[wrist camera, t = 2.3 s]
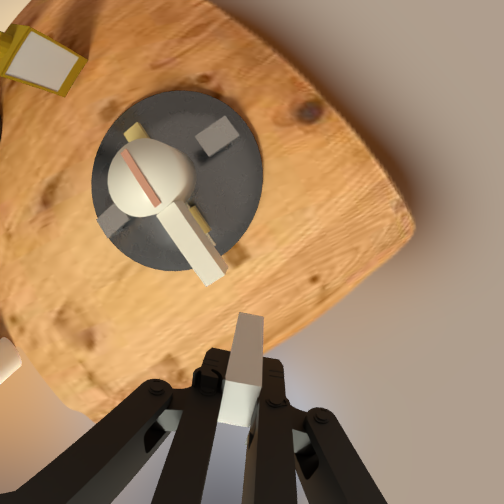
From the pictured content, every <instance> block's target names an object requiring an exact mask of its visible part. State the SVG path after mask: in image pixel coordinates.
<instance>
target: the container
mask: <svg viewBox="0 0 504 504" xmlns="http://www.w3.org/2000/svg"><path fill="white" fill-rule="evenodd" d="M21 364H22V362H21V358H20V355H19V353H18V351H17V349H16V348H15V346H14V345H13V343H12V342H11V341H10V340H9V339H8V338H6V337H2V338H1V339H0V384H1V383H2V382H3V381H4V380H6V379H7V378H8V377H9V376H10V375H11V374H12V373H13V372H14V371H16V370H17V369H18V368H19V367H20V366H21Z"/></svg>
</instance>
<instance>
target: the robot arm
mask: <svg viewBox="0 0 504 504" xmlns="http://www.w3.org/2000/svg"><path fill="white" fill-rule="evenodd" d="M0 138H1V116H0ZM263 325H264V317H262V316H257V315H252V314H247V313H242V312H239V316H238V321H237V325H236V330H235V334H234V339H233V344H232V348H231V351H226V350H221V349H216V348H211V349H210V350H208V351H207V352H206V355H205V358H204V360H203V363H202V366H201V367H199V368H197V369H196V370H195V371H194V372H193V380H192V386H191V387H189V388H185V389H172V387H171V385H170V384H169V383H167V382H166V381H163V380H160V379H150V380H147V381H145V382H143V383H142V384H141V385H140V386H139V387H138V388H137V389H136V390H135V391H133V392H132V393H131V394H130V395H129V396H128V397H127V398H125V399H124V400H123V401H122V402H121V403H120V404H119V405H118V406H116V407H115V408H114V409H113V410H112V411H111V412H110V413H108V414H107V415H106V416H105V417H104V418H103V419H102V420H100V421H99V422H98V423H97V424H96V425H95V426H93V427H92V428H91V429H90V430H89V431H88V432H86V433H85V434H84V435H83V436H82V437H81V438H79V439H78V440H77V441H76V442H75V443H74V444H72V445H71V446H70V447H69V448H68V449H66V450H65V451H64V452H63V453H62V454H60V455H59V456H58V457H57V458H56V459H55V460H53V461H52V462H51V463H50V464H48V465H47V466H46V467H45V468H43V469H42V470H41V471H40V472H38V473H37V474H36V475H35V476H34V477H32V478H31V479H30V480H29V481H27V482H26V483H25V484H24V485H22V486H21V487H20V488H19V489H17V490H16V491H13V492H8V493H3V494H0V504H111V502H112V501H113V500H114V499H115V498H116V497H117V496H118V495H119V494H120V492H121V491H122V490H123V489H124V488H125V487H126V486H127V484H128V483H129V482H130V481H131V480H132V479H133V477H134V476H135V475H136V474H137V473H138V472H139V470H140V469H141V468H142V467H143V465H144V464H145V463H146V462H147V461H148V460H149V458H150V457H151V456H152V454H154V452H155V451H156V450H157V449H158V448H159V446H160V445H161V444H162V442H163V441H164V440H165V439H166V438H167V436H168V435H169V434H170V432H171V431H176V433H175V435H174V439H173V441H172V444H171V447H170V450H169V453H168V456H167V458H166V461H165V464H164V467H163V470H162V473H161V476H160V479H159V481H158V484H157V487H156V490H155V493H154V496H153V499H152V502H151V504H201V500H202V495H203V490H204V485H205V480H206V475H207V470H208V465H209V461H210V455H211V450H212V446H213V441H214V436H215V431H216V426H217V422H222V423H227V424H232V425H238V426H244V427H249V426H250V431H249V434H248V437H247V440H246V443H245V445H247V451H246V462H245V472H244V483H243V495H242V503H241V504H297V488H296V473H295V469H296V472H297V474H298V477H299V480H300V482H301V484H302V487H303V490H304V492H305V495H306V497H307V500H308V502H309V504H387V502H386V500H385V499H384V497H383V495H382V494H381V492H380V490H379V489H378V487H377V485H376V484H375V482H374V480H373V479H372V477H371V475H370V474H369V472H368V471H367V469H366V467H365V465H364V464H363V462H362V460H361V459H360V457H359V455H358V454H357V452H356V450H355V449H354V447H353V445H352V444H351V442H350V440H349V439H348V437H347V435H346V434H345V432H344V430H343V428H342V427H341V425H340V423H339V422H338V420H337V418H336V417H335V415H334V414H333V413H332V412H331V411H329V410H327V409H324V408H318V407H316V408H312V409H310V410H309V411H308V412H305V411H302V410H299V409H296V408H294V407H293V406H291V405H290V402H289V400H288V399H287V398H286V395H285V382H284V369H283V365H282V363H281V362H280V361H279V360H278V359H272V358H266V357H263ZM250 423H251V424H250Z"/></svg>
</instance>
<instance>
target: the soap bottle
mask: <svg viewBox="0 0 504 504" xmlns="http://www.w3.org/2000/svg"><path fill="white" fill-rule="evenodd" d="M87 61H88V60H87V59H85V58H84V57H82V56H80V55H79V54H77V53H75V52H74V51H72V50H70V49H69V48H67V47H65V46H64V45H62V44H60V43H59V42H57V41H55V40H53V39H52V38H50V37H48V36H46V35H44V34H43V33H41V32H39V31H37V30H35V29H33V28H31V27H30V26H24V25H18V24H11V25H10V26H9V28H8V29H7V31H6V33H4V32H1V31H0V76H1V77H4V78H8V79H11V80H14V81H18V82H21V83H24V84H27V85H30V86H33V87H36V88H39V89H42V90H45V91H48V92H51V93H54V94H57V95H59V96H62V97H65V96H66V95H67V93H68V91H69V89H70V88H71V86H72V84H73V83H74V81H75V79H76V78H77V76H78V75H79V73H80V72H81V70H82V69H83V67H84V66H85V64H86V63H87Z"/></svg>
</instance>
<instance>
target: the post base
mask: <svg viewBox="0 0 504 504" xmlns="http://www.w3.org/2000/svg"><path fill="white" fill-rule="evenodd" d="M136 122H138V123H140V124H141V125H142V127H143V128H144V130H145V131H146V133H147V134H148V136H149V137H150V139H154V140H157V141H160V142H162V143H164V144H167V145H169V146H171V147H174V148H176V149H178V150H180V151H182V152H184V153H185V154H186V155H188V156H189V158H190V159H191V160H192V162H193V164H194V166H195V170H196V185H195V189H194V192H193V193H192V195H191V197H190V198H189V199H188V201H187V202H186V203H184V204H185V205H186V207H187V208H188V209H190V208H191V207H193V206H196V208H197V209H198V210H199V212H200V213H201V215H202V216H203V218H204V219H205V221H206V222H207V224H208V225H209V226H210V228H211V229H212V230H211V231H209V232H208V233H206V236H207V237H208V238H209V240H210V241H211V243H212V244H213V246H214V247H215V249H216V250H217V251H218V253H219V254H220V256H222V255H223V254H224V253H226V252H227V251H228V250H230V249H231V248H232V247H233V246H234V245H235V244H236V243H237V242H238V241H239V239H240V238H241V237H242V235H243V234H244V233H245V232H246V230H247V228H248V227H249V225H250V223H251V221H252V220H253V217H254V215H255V213H256V210H257V208H258V204H259V200H260V197H261V191H262V183H263V169H262V162H261V156H260V152H259V149H258V145H257V143H256V141H255V138H254V136H253V134H252V132H251V131H250V129H249V127H248V126H247V124H246V123H245V122H244V121H243V119H242V118H241V117H240V116H239V115H238V114H237V113H236V112H235V111H234V110H233V109H232V108H230V107H229V106H228V105H226V104H225V103H223V102H222V101H220V100H218V99H216V98H214V97H211V96H209V95H206V94H202V93H199V92H193V91H170V92H163V93H160V94H156V95H153V96H151V97H148V98H146V99H144V100H142V101H140V102H138V103H137V104H135V105H133V106H132V107H131V108H129V109H128V110H127V111H125V112H124V113H123V114H122V115H121V116H120V117H119V118H118V119H117V120H116V121H115V122H114V124H113V125H112V126H111V127H110V129H109V130H108V132H107V133H106V135H105V137H104V138H103V140H102V142H101V144H100V146H99V149H98V151H97V154H96V157H95V161H94V166H93V171H92V198H93V204H94V208H95V212H96V215H97V217H98V218H97V219H96V220H97V222H98V223H99V225H100V227H101V228H102V230H103V232H104V233H105V235H106V236H107V238H109V239H110V240H111V242H112V243H113V244H114V245H115V246H116V247H117V248H118V249H119V250H120V251H121V252H122V253H124V254H125V255H126V256H127V257H129V258H131V259H132V260H134V261H135V262H138V263H140V264H142V265H144V266H147V267H150V268H153V269H158V270H164V271H182V270H189V269H193V268H192V267H191V265H190V264H189V263H188V261H187V260H186V258H185V257H184V256H183V254H182V253H181V251H180V250H179V248H178V247H177V246H176V244H175V243H174V241H173V240H172V238H171V237H170V235H169V234H168V232H167V231H166V230H165V228H164V227H163V225H162V224H161V222H160V221H159V219H158V218H157V216H156V215H157V214H154V215H150V216H146V217H134V216H131V215H128V214H126V213H124V212H123V211H121V210H120V209H119V208H118V207H117V206H116V204H115V203H114V202H113V200H112V198H111V196H110V193H109V189H108V172H109V168H110V165H111V162H112V160H113V158H114V157H115V155H116V154H117V152H118V151H119V150H120V149H121V148H122V147H123V146H124V145H126V144H127V143H129V142H128V141H127V139H126V137H125V136H124V133H125V132H126V131H127V130H128V129H129V128H130V127H132V126H133V125H134V124H135V123H136ZM158 214H159V213H158Z"/></svg>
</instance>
